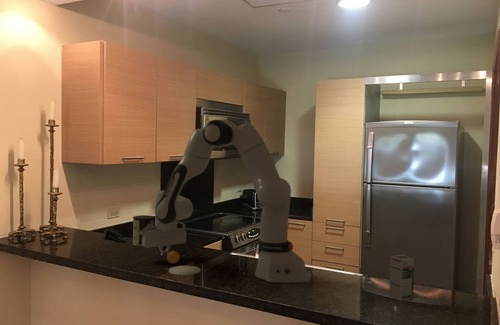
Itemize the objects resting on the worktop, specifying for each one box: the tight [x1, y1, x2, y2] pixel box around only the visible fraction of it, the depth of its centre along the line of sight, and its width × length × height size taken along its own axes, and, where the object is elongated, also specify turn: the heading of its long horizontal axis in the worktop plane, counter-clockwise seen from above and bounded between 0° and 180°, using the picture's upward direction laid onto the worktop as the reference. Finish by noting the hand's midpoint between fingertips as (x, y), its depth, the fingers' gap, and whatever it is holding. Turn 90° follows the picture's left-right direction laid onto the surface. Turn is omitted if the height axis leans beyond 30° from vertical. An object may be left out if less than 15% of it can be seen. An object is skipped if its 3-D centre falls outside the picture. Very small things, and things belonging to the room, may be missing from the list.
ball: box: [166, 250, 181, 265], centre depth 176 cm, size 6×6×6 cm
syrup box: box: [388, 254, 415, 302], centre depth 142 cm, size 6×6×14 cm
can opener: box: [103, 228, 126, 244], centre depth 218 cm, size 18×7×6 cm, turn 47°
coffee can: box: [132, 214, 155, 247], centre depth 211 cm, size 10×10×14 cm
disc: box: [168, 265, 201, 276], centre depth 167 cm, size 13×13×1 cm
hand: (164, 255), depth 184 cm, fingers closed
